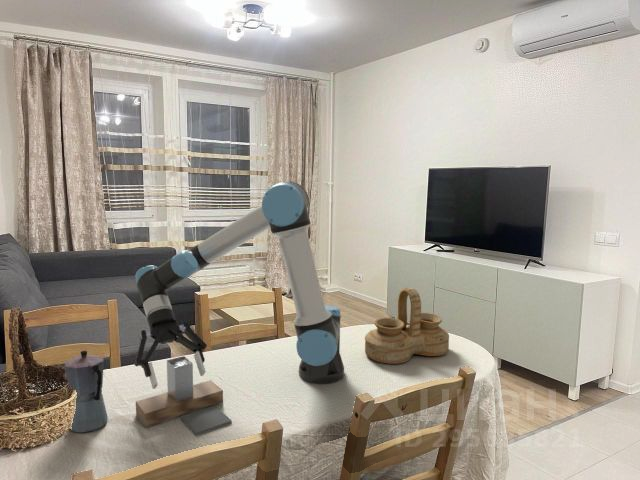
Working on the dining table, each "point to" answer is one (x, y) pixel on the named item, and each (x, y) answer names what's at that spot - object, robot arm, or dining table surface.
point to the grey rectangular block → (180, 379)
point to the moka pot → (87, 391)
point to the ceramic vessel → (406, 333)
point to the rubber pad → (205, 420)
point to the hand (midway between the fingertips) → (180, 380)
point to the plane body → (177, 404)
